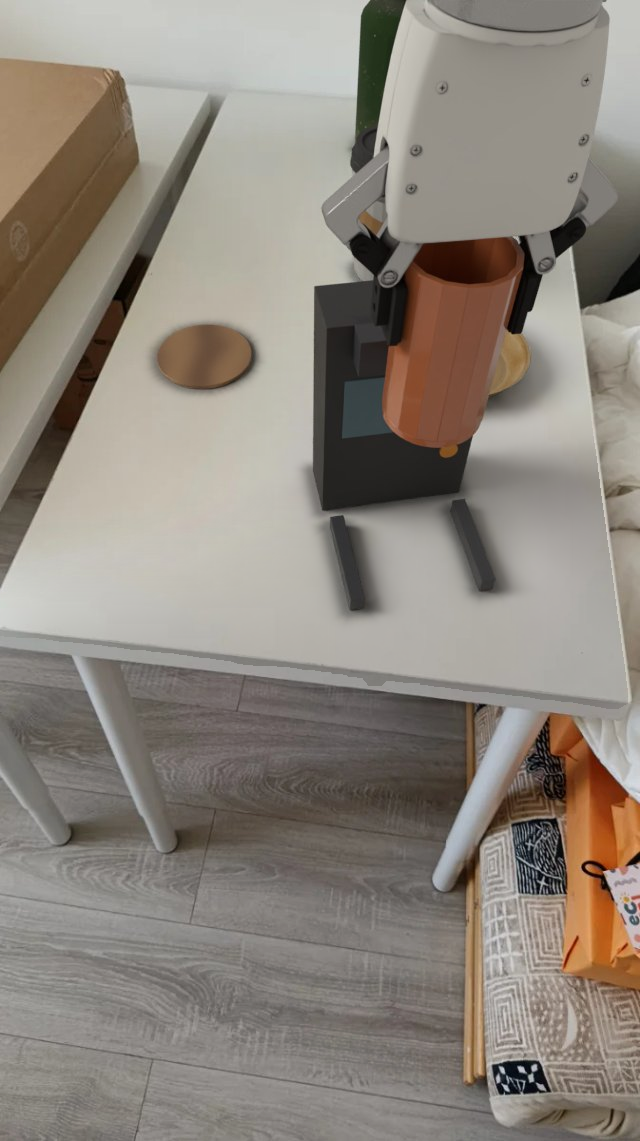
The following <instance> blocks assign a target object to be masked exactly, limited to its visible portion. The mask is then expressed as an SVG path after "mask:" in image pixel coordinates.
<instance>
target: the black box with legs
mask: <svg viewBox="0 0 640 1141" xmlns="http://www.w3.org/2000/svg"><path fill="white" fill-rule="evenodd" d="M372 288H373V280H370V281H362V280H361V281H353V282H352V281H351V282H341V283H331V284H322V285H321V284H320V285H314V286H313V381H312V382H313V385H312V386H313V388H312V390H313V391H312V392H313V393H312V394H313V396H312V397H313V398H312V399H313V400H312V401H313V402H312V404H313V405H312V407H313V408H312V421H313V422H312V473H313V477H314V482H315V486H316V490H317V494H318V499H319V502H320V506H321V510H322V511H328V510H336V509H342V508H352V507H357V506H359V507H360V506H365V505H366V506H367V505H373V504H374V505H375V504H381V503H388V502H389V503H390V502H396V501H405V500H410V499H411V500H412V499H418V498H425V497H433V496H434V497H435V496H440V495H449V494H455V493H460V491H461V486H462V483H463V479H464V474H465V471H466V466H467V462H468V458H469V454H470V451H471V450H470V449H471V446H472V441H473V437H474V435H473V436H472V437H470V438H469V439H468V440H466V441H464V442H462V443H460V444H457V445H454V446H449V447H441V448H434V447H425V446H420V445H417V444H413V443H411V442H409V441H406V440H404V439H403V438H401V437H399V436H398V435H397V434H395V433H394V432H393V431H392V430H391V429H390V428H389V426H388V425H387V423H386V422H385V419H384V417H383V413H382V399H383V390H384V382H385V374H386V366H387V358H388V350H389V346H388V344H387V342H386V339H385V336H384V333H383V330H382V328H381V326H374V324H373V321H372V317H371V298H372ZM449 512H450V514H451V517H452V518H451V519H452V520H453V523H454V525H455V529H456V532H457V534H458V537H459V539H460V542H461V545H462V547H463V551H464V553H465V556H466V559H467V562H468V564H469V567H470V570H471V573H472V575H473V578H474V581H475V584H476V587H477V589H478V592H483V591H484V592H485V591H491V590H493V589H494V586H495V583H496V580H497V579H496V575H495V574H494V571H493V569H492V566H491V563H490V561H489V558H488V555H487V552H486V550H485V547H484V544H483V543H482V539H481V537H480V534H479V531H478V529H477V526H476V524H475V521H474V519H473V516H472V513H471V511H470V508H469V505H468V503H467V501H466V498H461V499H459V498H458V499H452V501H451V504H450V508H449ZM329 530H330V534H331V538H332V542H333V546H334V550H335V555H336V560H337V564H338V567H339V572H340V575H341V579H342V584H343V588H344V592H345V595H346V600H347V605H348V609H349V611H356V610H362V609H364V608H365V600H366V599H365V594H364V590H363V585H362V582H361V579H360V574H359V571H358V566H357V563H356V560H355V555H354V551H353V548H352V542H351V540H350V535H349V533H348V527H347V525H346V521H345V516H344V515H342V514H341V515H334V516H330V517H329Z"/></svg>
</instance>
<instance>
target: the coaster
mask: <svg viewBox="0 0 640 1141" xmlns="http://www.w3.org/2000/svg"><path fill="white" fill-rule="evenodd" d="M252 357H253V354H252V348H251V344H250V343H249V341H248V340H247V338H246V337H245V336H244V335H242V334H241V333H240V332H238V331H236V330H234V329H232V328H230V327H227V326H223V325H218V324H198V325H192V326H188V327H184V328H182V329H179V330H177V331H176V332H175V331H174V332H173V333H172V334H170V335H169V336H168V337H167V338H166V339H164V340H163V342H162V343H161V345H160V346H159V348H158V351H157V354H156V359H157V360H156V361H157V366H158V369H159V370H160V372H161V374H162V375H163V376H164V377H165V378H166V379H168V380H169V381H170V382H172V383H174V384H175V385H178V386H181V387H184V388H189V389H195V390H206V389H214V388H218V387H222V386H225V385H228V384H231V383H232V382H234V381H236V380H238V379H239V378H241V377H242V376H243V375H244V374H245V373H246V372H247V370H248V369H249V368H250V365H251V363H252Z"/></svg>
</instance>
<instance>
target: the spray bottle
mask: <svg viewBox="0 0 640 1141" xmlns="http://www.w3.org/2000/svg"><path fill="white" fill-rule="evenodd" d="M405 3H406V0H369V1H368V2H367V3H366V5H365V6H364V7H363V9H362V12H361V15H360V26H359V27H360V28H359V45H358V47H359V48H358V67H357V69H358V70H357V87H356V88H357V89H356V110H355V111H356V112H355V130H354V131H355V132H354V144H355V143H356V138H357V136H358V135H359V133H361V132H362V131H363V130H365V129H367V128H369V127H373V126H377V125H378V123H379V117H380V112H381V105H382V100H383V94H384V89H385V83H386V78H387V74H388V69H389V64H390V59H391V54H392V50H393V46H394V42H395V38H396V34H397V30H398V26H399V23H400V20H401V16H402V13H403V9H404V6H405Z"/></svg>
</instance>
